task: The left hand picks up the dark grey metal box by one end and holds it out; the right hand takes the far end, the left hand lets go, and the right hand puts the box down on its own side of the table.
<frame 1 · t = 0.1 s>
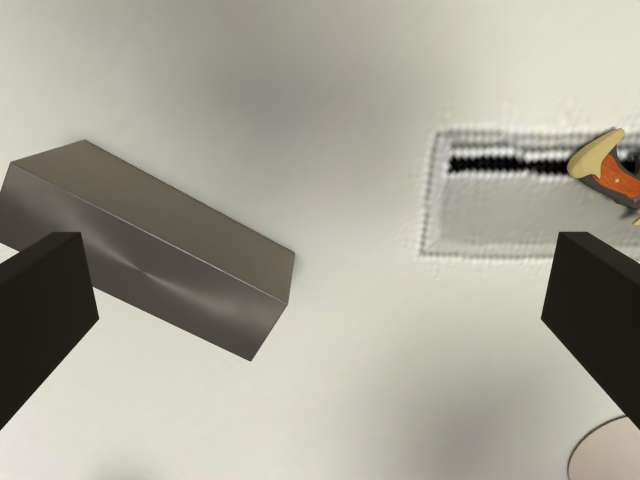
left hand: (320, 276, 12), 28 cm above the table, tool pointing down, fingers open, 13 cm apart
box: (181, 226, 41), on the table
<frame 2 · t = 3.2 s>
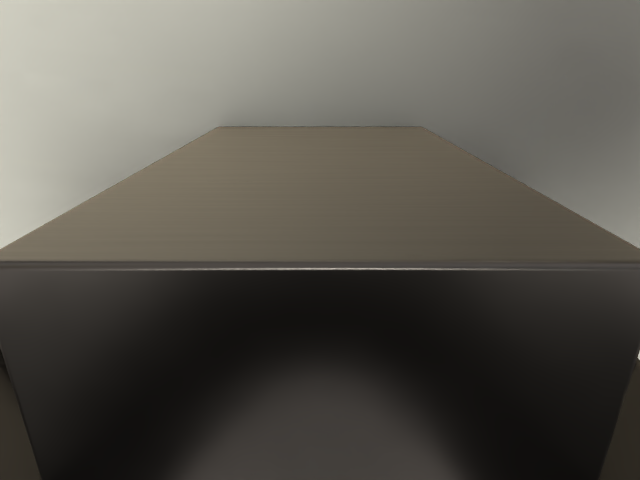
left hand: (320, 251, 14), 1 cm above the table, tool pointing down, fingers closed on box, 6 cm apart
box: (320, 408, 17), on the table, touching left hand
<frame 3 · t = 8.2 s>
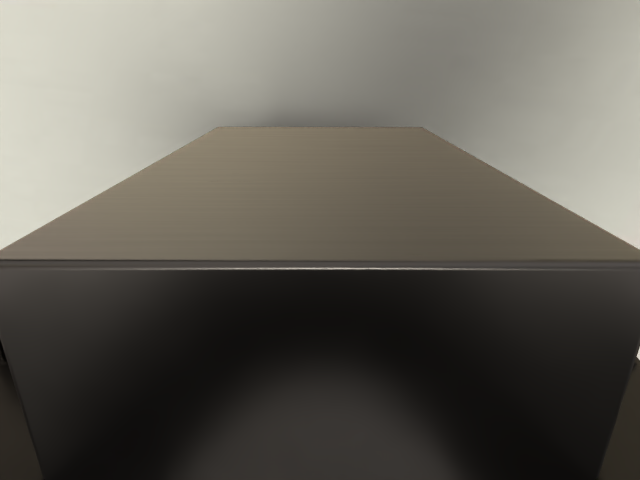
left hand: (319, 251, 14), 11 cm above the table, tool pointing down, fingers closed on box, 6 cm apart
box: (319, 408, 17), point 10 cm above the table, touching left hand, right hand
when the left hand's fingers open (11 cm above the table, at t = 9.1 s): box stays where it is, held by the right hand.
when the right hand's fingers open (6 cm above the table, at t = 18.2 s): box drops 1 cm, on the table.
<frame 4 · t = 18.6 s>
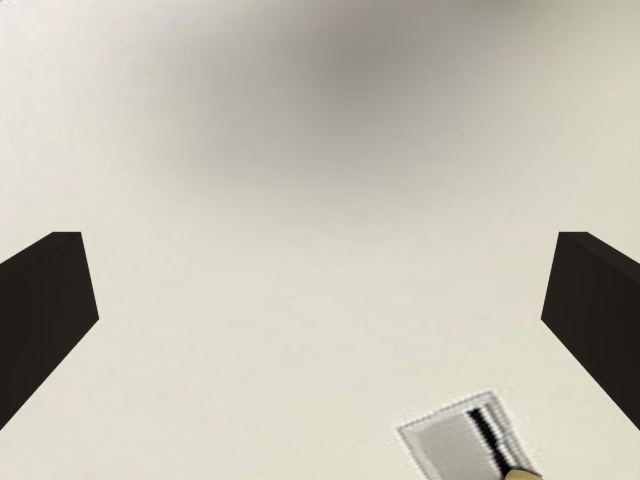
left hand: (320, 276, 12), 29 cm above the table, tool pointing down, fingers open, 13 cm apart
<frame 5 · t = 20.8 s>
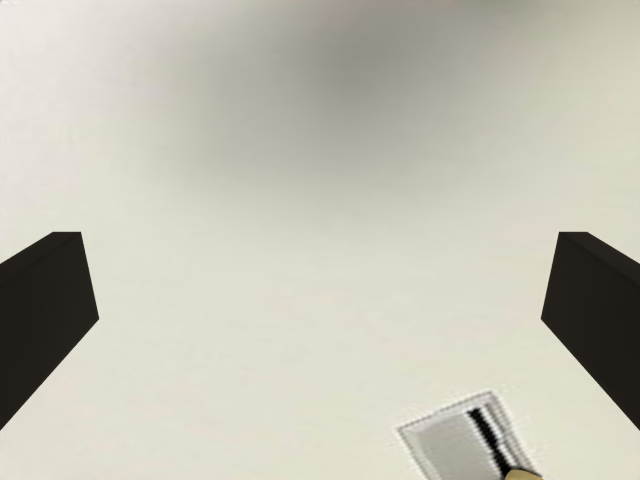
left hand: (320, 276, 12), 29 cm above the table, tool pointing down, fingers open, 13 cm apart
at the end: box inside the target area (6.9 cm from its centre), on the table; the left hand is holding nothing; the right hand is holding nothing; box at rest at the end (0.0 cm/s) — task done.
